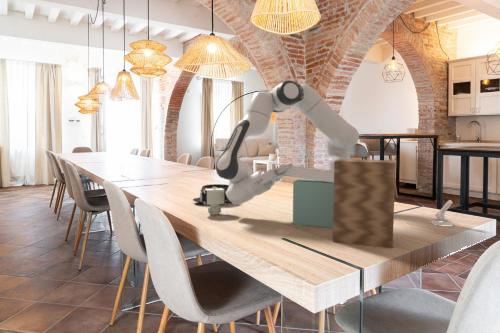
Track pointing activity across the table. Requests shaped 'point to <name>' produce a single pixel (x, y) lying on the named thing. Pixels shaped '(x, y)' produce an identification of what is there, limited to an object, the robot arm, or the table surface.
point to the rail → (309, 173)
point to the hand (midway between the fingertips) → (290, 165)
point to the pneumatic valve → (214, 199)
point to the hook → (442, 215)
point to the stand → (364, 202)
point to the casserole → (212, 188)
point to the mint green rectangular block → (313, 203)
